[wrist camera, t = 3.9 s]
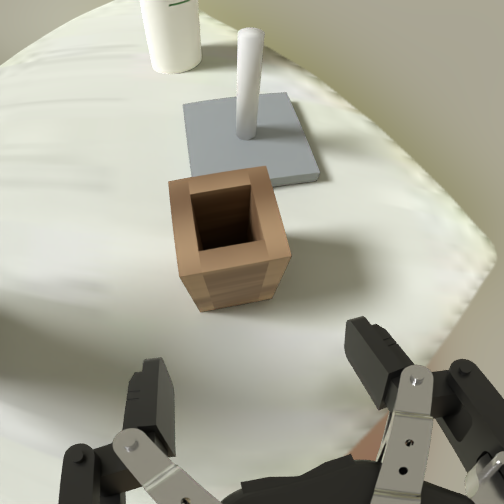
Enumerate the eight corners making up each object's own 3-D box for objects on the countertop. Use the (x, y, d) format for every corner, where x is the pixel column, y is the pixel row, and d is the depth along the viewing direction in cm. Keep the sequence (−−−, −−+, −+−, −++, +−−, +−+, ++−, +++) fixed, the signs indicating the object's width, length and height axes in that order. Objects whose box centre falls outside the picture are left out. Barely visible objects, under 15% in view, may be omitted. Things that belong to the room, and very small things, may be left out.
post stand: (316, 180, 31) (356, 74, 18) (195, 199, 29) (173, 87, 17) (284, 101, 35) (301, 4, 22) (184, 113, 33) (169, 13, 21)
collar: (271, 298, 26) (291, 256, 17) (200, 312, 25) (179, 276, 16) (256, 233, 28) (266, 165, 19) (189, 245, 28) (168, 181, 18)
